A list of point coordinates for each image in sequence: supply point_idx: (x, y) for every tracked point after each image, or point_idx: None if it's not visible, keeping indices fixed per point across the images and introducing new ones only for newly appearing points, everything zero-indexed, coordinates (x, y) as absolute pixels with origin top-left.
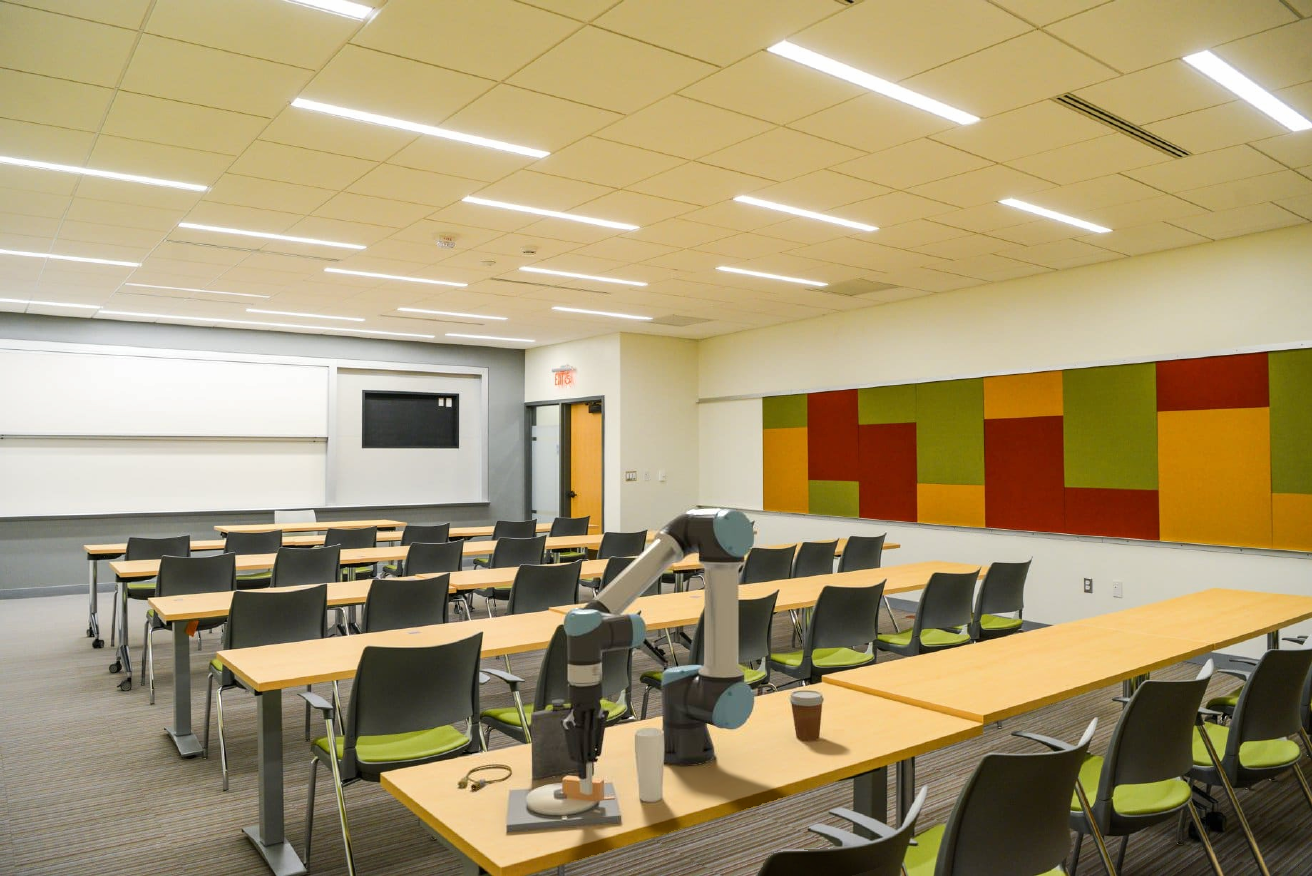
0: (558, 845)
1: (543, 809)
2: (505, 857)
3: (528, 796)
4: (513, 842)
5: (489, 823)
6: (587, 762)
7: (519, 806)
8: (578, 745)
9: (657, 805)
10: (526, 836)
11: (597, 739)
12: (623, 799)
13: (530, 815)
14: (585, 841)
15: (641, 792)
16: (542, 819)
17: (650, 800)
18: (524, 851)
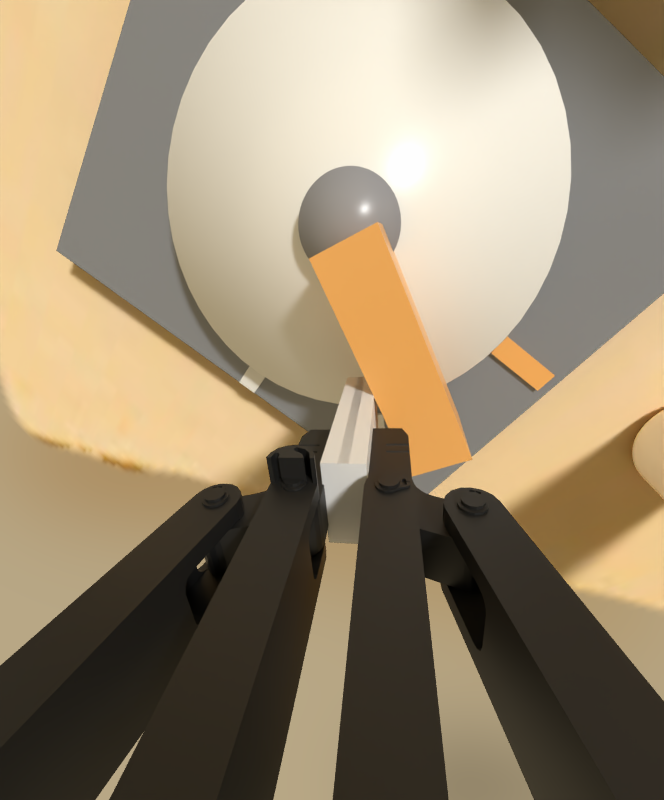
0: (178, 452)
1: (193, 295)
2: (32, 397)
3: (204, 73)
4: (77, 336)
5: (42, 97)
6: (348, 520)
7: (167, 89)
8: (149, 710)
9: (624, 496)
10: (125, 332)
11: (511, 714)
12: (618, 355)
13: (165, 244)
14: (248, 489)
15: (654, 453)
16: (187, 317)
17: (639, 473)
18: (86, 408)
